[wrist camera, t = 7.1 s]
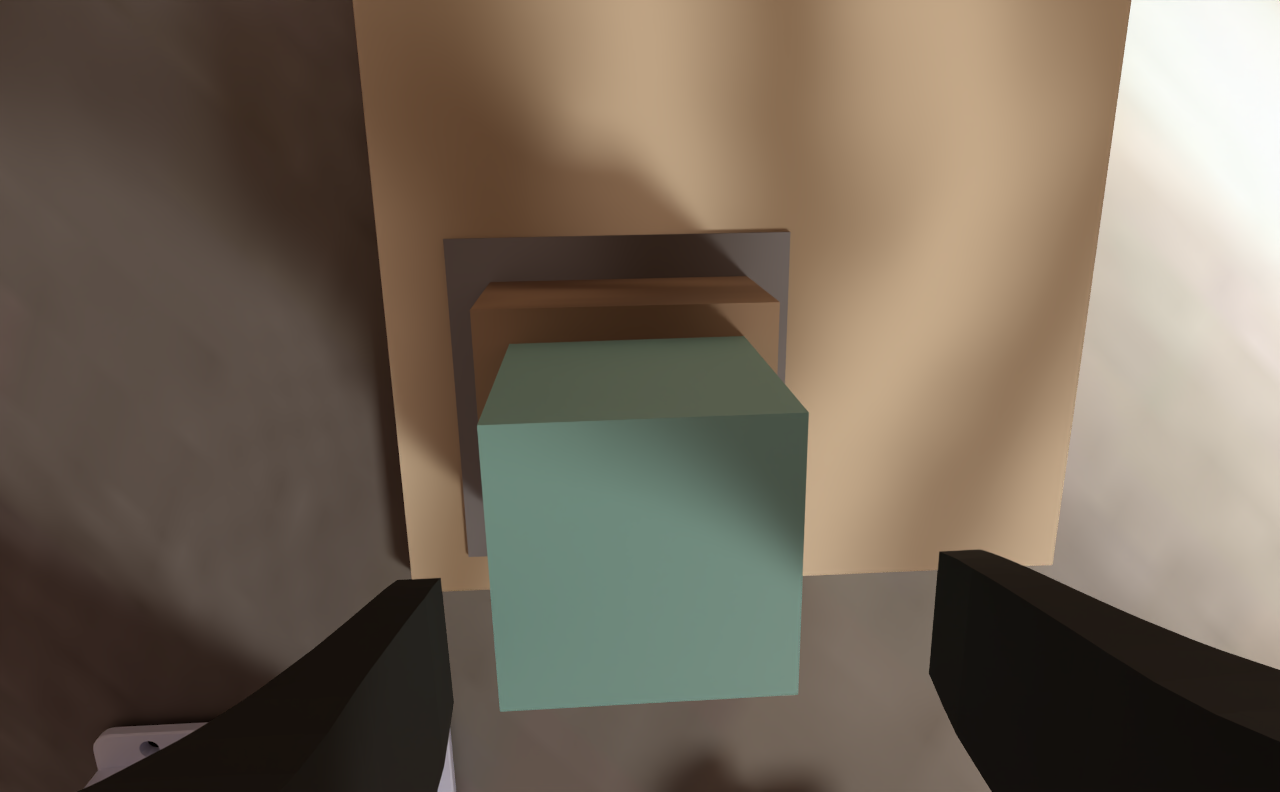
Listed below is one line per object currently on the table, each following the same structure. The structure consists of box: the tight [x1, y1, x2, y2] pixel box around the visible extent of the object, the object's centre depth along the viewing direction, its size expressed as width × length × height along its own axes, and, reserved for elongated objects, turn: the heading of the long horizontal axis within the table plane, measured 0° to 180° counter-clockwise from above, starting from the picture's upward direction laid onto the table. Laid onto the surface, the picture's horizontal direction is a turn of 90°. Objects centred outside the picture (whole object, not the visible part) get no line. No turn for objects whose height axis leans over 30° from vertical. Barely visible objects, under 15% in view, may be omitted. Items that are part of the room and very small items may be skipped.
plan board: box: [353, 0, 1131, 591], centre depth 20 cm, size 17×15×1 cm
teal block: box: [477, 336, 809, 712], centre depth 15 cm, size 5×5×5 cm
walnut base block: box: [470, 276, 780, 422], centre depth 19 cm, size 6×6×4 cm
